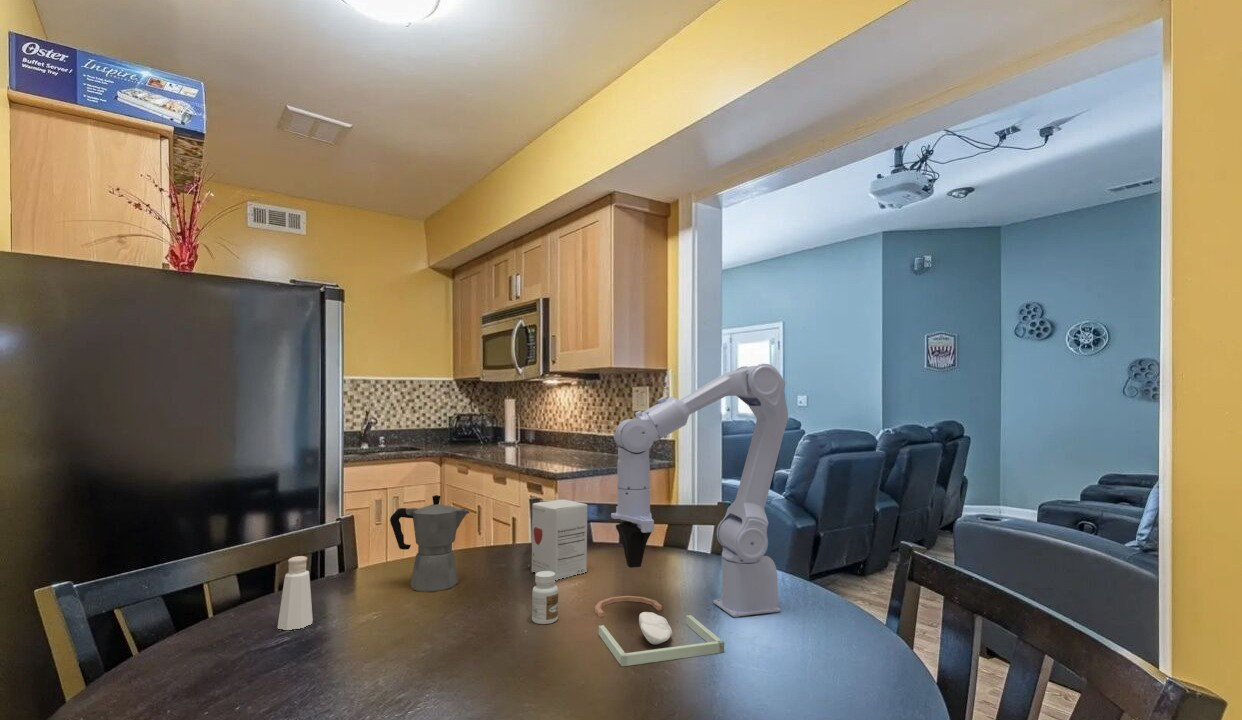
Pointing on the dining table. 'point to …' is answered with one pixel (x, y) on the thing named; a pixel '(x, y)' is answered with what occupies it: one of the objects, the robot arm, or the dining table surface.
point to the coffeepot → (431, 544)
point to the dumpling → (654, 627)
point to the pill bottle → (545, 598)
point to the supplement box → (559, 537)
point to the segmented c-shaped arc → (625, 598)
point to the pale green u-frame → (670, 653)
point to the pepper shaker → (296, 596)
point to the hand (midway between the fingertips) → (634, 566)
